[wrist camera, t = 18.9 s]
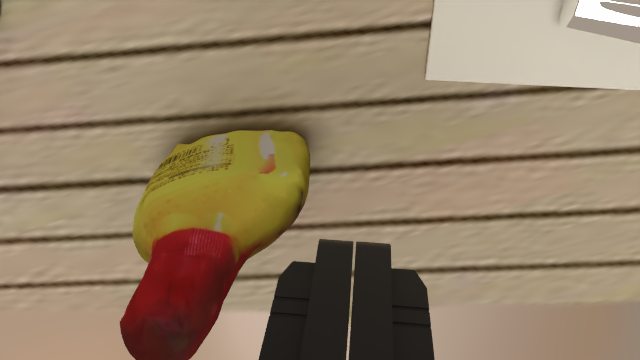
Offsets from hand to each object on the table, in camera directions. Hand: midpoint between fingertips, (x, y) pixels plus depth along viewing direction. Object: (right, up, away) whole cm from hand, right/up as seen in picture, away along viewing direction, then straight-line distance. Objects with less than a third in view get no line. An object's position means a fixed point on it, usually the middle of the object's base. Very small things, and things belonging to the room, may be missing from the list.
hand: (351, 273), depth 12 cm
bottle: (-6, +4, +30) cm, 31 cm away
